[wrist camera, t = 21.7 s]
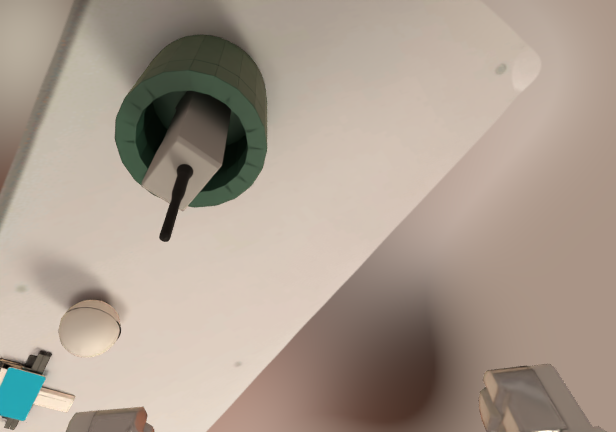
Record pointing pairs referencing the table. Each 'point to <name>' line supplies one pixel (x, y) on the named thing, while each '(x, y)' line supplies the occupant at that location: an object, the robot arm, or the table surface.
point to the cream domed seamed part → (89, 328)
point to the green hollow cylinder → (209, 80)
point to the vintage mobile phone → (188, 154)
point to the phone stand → (27, 389)
